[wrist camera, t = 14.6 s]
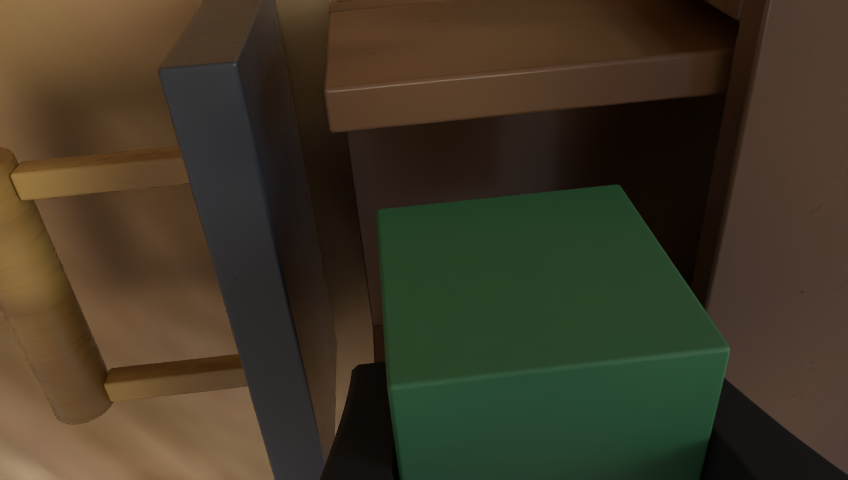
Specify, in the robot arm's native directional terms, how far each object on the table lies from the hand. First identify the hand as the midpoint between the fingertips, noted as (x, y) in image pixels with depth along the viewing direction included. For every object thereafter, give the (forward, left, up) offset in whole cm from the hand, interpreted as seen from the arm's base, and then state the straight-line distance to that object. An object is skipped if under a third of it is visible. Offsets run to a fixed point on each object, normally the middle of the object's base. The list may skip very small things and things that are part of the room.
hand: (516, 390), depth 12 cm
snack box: (0, 0, -1) cm, 1 cm away
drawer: (-1, 0, -8) cm, 8 cm away
